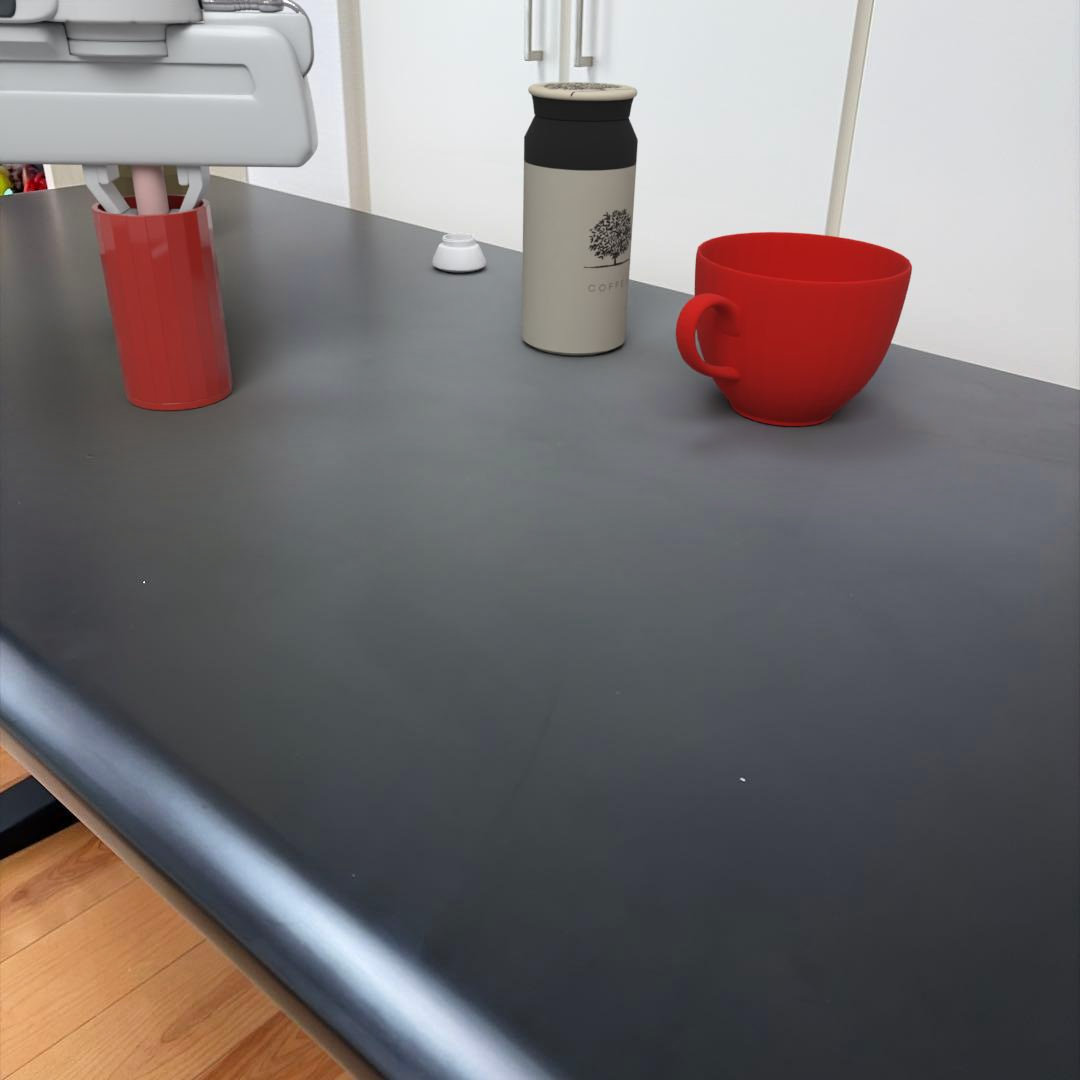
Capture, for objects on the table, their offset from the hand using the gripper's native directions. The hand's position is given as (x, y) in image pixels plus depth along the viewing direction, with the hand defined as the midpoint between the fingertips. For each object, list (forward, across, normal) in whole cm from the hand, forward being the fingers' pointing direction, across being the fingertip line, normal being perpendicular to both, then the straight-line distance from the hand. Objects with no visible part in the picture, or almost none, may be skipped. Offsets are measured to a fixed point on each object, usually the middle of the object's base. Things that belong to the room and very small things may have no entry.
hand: (158, 241), depth 63 cm
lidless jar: (+10, -18, -33) cm, 39 cm away
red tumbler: (+10, 0, 0) cm, 10 cm away
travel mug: (+10, -27, -11) cm, 31 cm away
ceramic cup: (+10, -38, +4) cm, 39 cm away
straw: (+8, 0, 0) cm, 8 cm away
